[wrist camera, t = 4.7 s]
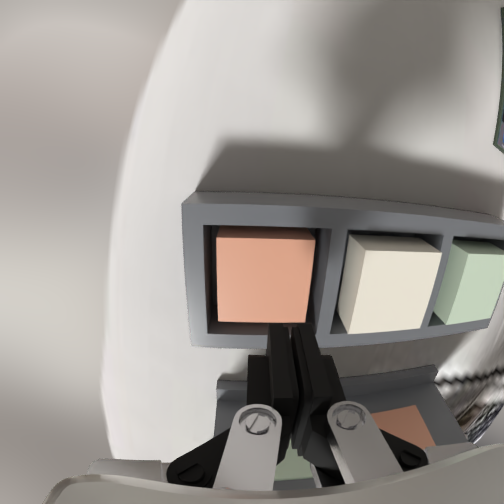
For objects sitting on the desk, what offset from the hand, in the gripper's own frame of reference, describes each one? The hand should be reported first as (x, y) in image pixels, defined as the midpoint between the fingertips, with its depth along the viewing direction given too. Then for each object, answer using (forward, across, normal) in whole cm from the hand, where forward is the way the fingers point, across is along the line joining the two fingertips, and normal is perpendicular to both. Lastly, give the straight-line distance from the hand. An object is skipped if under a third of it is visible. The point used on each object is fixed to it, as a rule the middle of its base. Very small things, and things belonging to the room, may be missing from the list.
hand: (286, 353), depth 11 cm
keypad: (+8, -6, +4) cm, 11 cm away
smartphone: (+8, -22, -17) cm, 29 cm away
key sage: (+6, -13, -1) cm, 14 cm away
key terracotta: (+7, +1, -1) cm, 7 cm away
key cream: (+6, -6, -1) cm, 9 cm away
